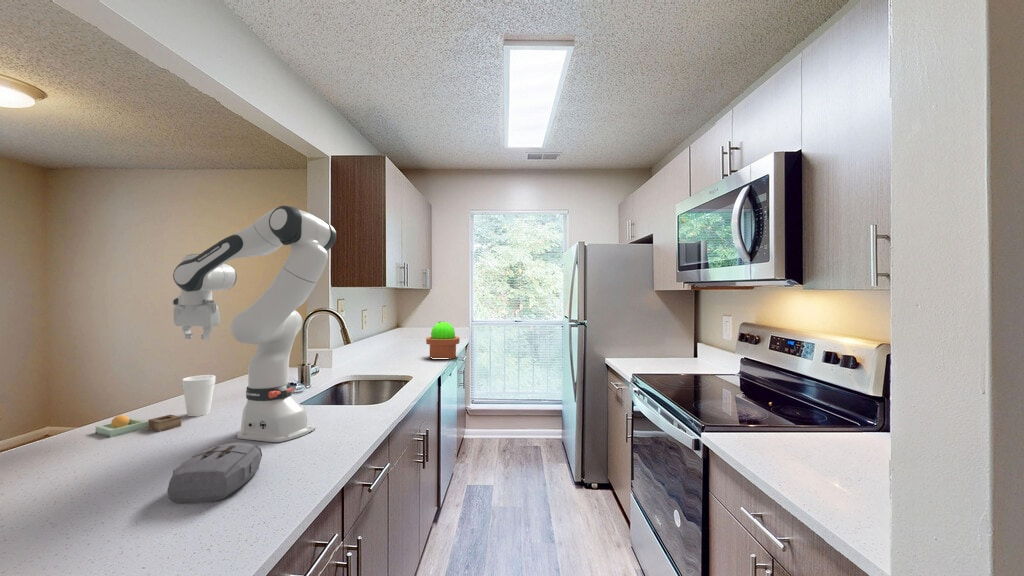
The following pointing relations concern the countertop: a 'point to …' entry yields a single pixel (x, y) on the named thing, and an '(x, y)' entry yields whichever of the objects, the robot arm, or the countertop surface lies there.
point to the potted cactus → (442, 341)
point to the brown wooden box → (164, 423)
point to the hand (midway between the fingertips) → (197, 339)
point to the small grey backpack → (214, 473)
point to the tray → (122, 428)
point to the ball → (120, 421)
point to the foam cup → (198, 394)
